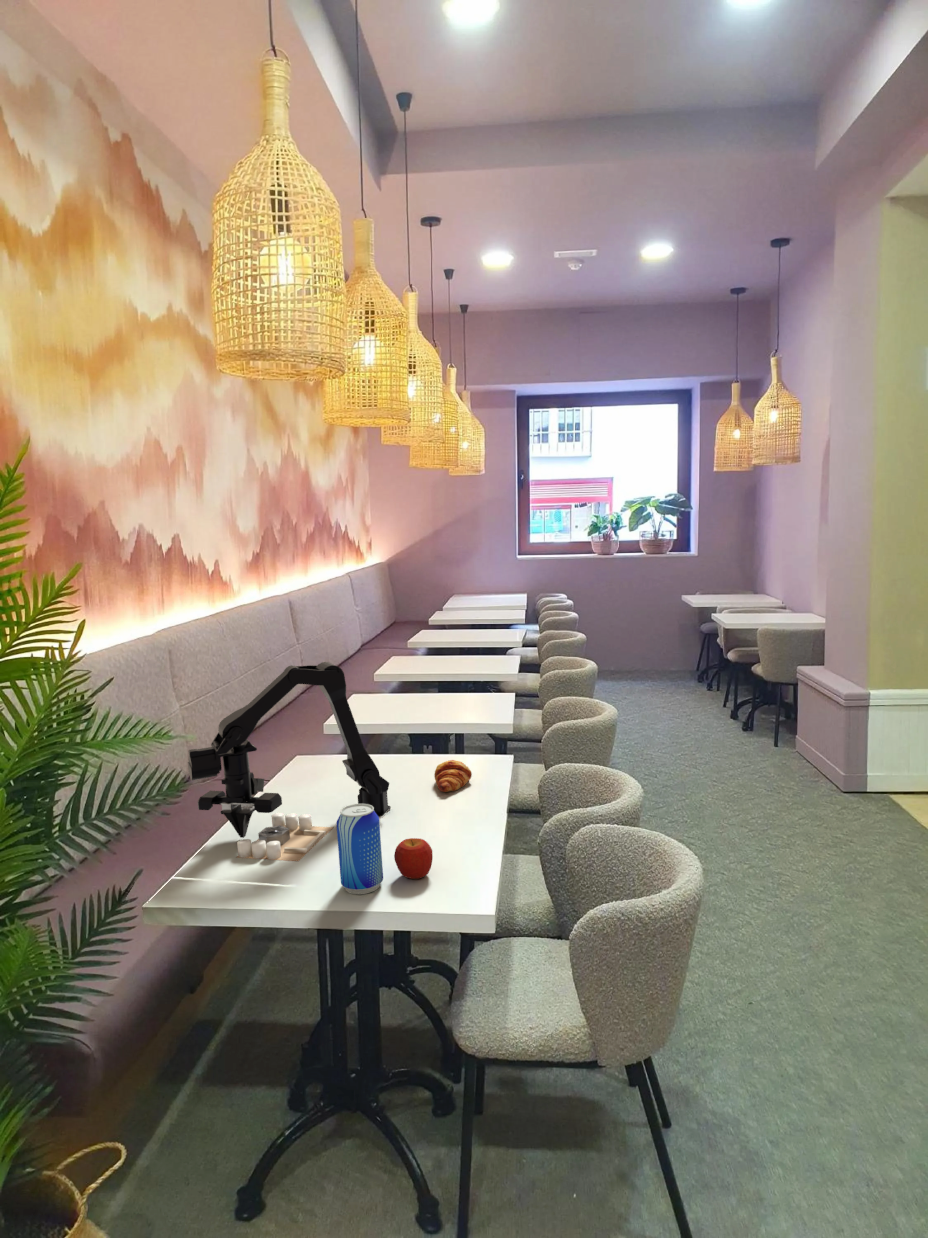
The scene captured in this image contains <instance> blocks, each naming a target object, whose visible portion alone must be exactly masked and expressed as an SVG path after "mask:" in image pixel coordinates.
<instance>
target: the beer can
mask: <svg viewBox="0 0 928 1238" xmlns="http://www.w3.org/2000/svg"><path fill="white" fill-rule="evenodd" d="M339 813H340V814H339V816H338V818H337V819H336V824H335V825H336V834H337V836H336V837H337V838H336V839H337V850H338V851H337V852H338V864H339V874H340V884H341V886H342V887H343V888H344V890H345V891H346V892H348V894H352V895H365V894H370V893H372V892H375V891H376V890H378V889H379V888H380V886H381V884H382V882H383V880H384V871H383V867H384V866H383V855H382V853H383V852H382V842H381V841H382V840H381V827H380V826H381V824H380V823H381V822H380V818H379V817H380V816H378V815H377V814H376V813H375V811H374V807H373V806H371V805H369V804H358V803H353V804H350V805H346V806H344V807H342V808H341V809H340V812H339Z"/></svg>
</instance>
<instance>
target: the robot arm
mask: <svg viewBox="0 0 928 1238" xmlns="http://www.w3.org/2000/svg"><path fill="white" fill-rule="evenodd" d="M297 685H308V686H318V687H319V689H320V691H321V693H322V694H323V695H324V697H325V698H326V699H327V701H328V703H329V706H330V709H331V711H332V715H333V716H334V719H335V722H336V725H337V728H338V731H339V733H340V735H341V736H340V737H341V738H342V741H343V744H344V747H345V749H346V753H347V754H346V759H343V760H342V764H343V766H344V767H345V770H346V775H347V776H348V777H349V778H350V779H351V780H353V782H356V783H357V785H358V786H359V787H360V788H359V789H358V794H357V804H369V805H371V806H373V807H374V811H375V813H376V814H377V815H378V817H382V816H384V815H385V814H386V813H387V812H388V811H390V809H391V806H390V805H389V803H388V801H389V799H388V790H389V787H390V782H389V781H388V780H387V779H385V778H384V777H382V776H381V775H380V771H379V768H378V767H377V765H376V764H375V762H374V760H373V758H372V757H371V756H370V754H369V753H368V752H367V750H366V748H365V746H364V743H363V741H362V738H361V735H360V732H359V730H358V727H357V724H356V721H355V718H354V716H353V712H352V710H351V707H350V704H349V701H348V699H347V681H346V677H345V672H344V671H343V669H342V668H341V667H339V666H338V665H336V664H334V663H332V662H329V661H324V662H323V661H322V662H320V663H318V664H315V665H314V664H313V665H307V664H306V665H288V666H287V667H285V669H284V670H283V671H282V672H281V673H280V674H279V675H278V676H277V677H276V678H275V679H274V680H272V682H271V683H269V685H267V686H266V687H265V688H264V689H262V691H261V692H260V693H258V694H257V695H256V696H255V697H254V698H253V699H252V700H251V701H250V702H249V703H247V704H246V705H245V706H243V707H241V708H239V709H236V710H234V711H233V712H231V713H230V714H229V715H227V716H226V717H224V718H223V719H221V721H220V722H219V724H218V730H217V731H218V732H217V734H216V735H215V736H214V739H213V740H212V742H211V743H210V747H204V748H193V749H189V750H188V756H187V757H188V761H187V769H188V775H189V779H190V781H196V780H197V781H198V780H202V779H209V778H213V777H217V776H218V774H220V773H221V771H222V770H223V775H224V776H223V777H224V778H222V779H221V785H225V786H224V788H225V791H223V790H209V791H207V792H206V793H204V794H202V795H200V796H199V798H198V800H197V809H198V811H210V810H211V809H212V808H213V807H214V805H221V811H220V815H223V816H224V817H225V818H226V820H228V821H229V823H230V824H231V825H232V827H233V828H234V830H235V831H236V833H237V835H238V836H239V837H240V838H244V839H245V837H246V836H247V832H248V828H249V824H250V820H251V818H252V815H253V813H254V812H255V811H256V812H257V813H259V814H261V813H262V814H263V813H264V814H269V813H270V814H271V813H273V812H274V811H275V810H276V809H278V808H279V807H281V806H282V805H283V800H282V799H283V798H282V796H281V794H280V793H278V792H264V789H265V778H259V777H257V778H256V777H255V775H254V772H253V771H252V772H251V769H250V758H249V753H251V752H256V751H257V750H258V748H257V747H256V746H255V745H254V744H253V743H251V742H250V740H249V739H248V738H249V737H250V736H251V734H252V733H253V732H254V731H255V728H256V726H257V725H258V723H259V721H260V720H261V719H262V718H263V717H264V716H265V715H266V714H267V713H268V712H269V711H270V710H272V708H273V707H274V706H276V705H277V704H279V703H280V701H281V700H282V699H283V698H284V697H285V696H287V695H288V694H289V693H290V692H291V691H292V690H293V689H294V688H295V687H296V686H297ZM221 759H222V760H221ZM222 766H223V769H222ZM258 792H260V793H263V794H261V795H260V796H259V797H258V796H255V795H257V794H258Z"/></svg>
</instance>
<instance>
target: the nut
mask: <svg viewBox="0 0 928 1238" xmlns="http://www.w3.org/2000/svg"><path fill="white" fill-rule="evenodd" d="M257 834H258V839H259V840H265V841H266V844H267V843H268V842H270V841H279V842H280V845H284V844H285V843H286V842H287V841H288V840H289V839H290V832H289V828H286V827H284V826H281V825H279V826H273V827H272V826H268V827H267V826H266V827H265V828H263V829H262V830H261V831H259V832H258V833H257Z"/></svg>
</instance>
